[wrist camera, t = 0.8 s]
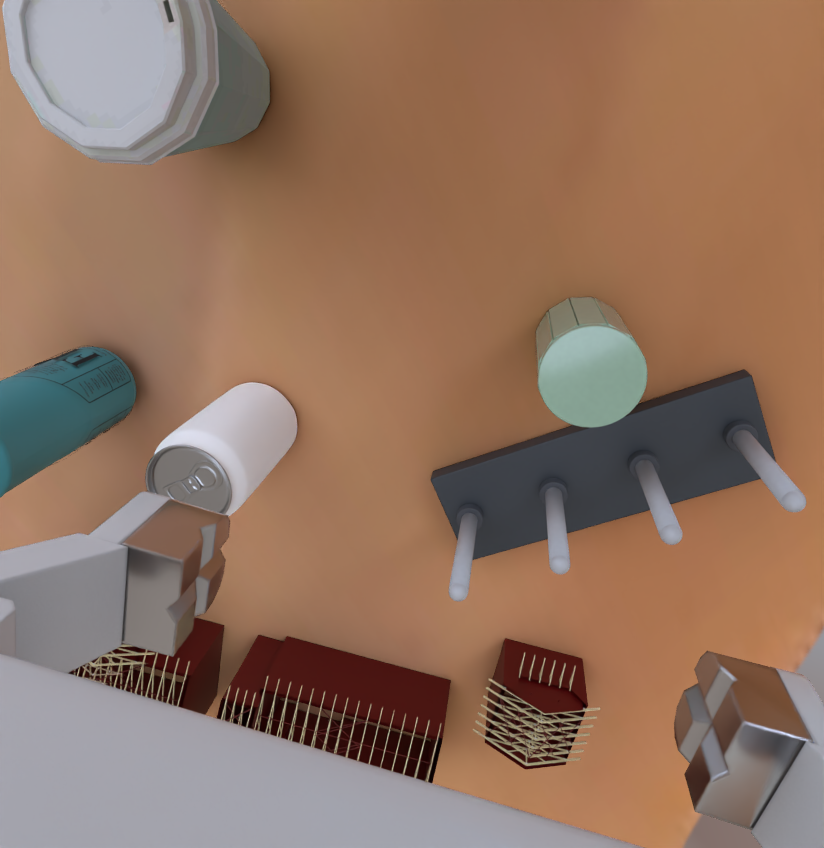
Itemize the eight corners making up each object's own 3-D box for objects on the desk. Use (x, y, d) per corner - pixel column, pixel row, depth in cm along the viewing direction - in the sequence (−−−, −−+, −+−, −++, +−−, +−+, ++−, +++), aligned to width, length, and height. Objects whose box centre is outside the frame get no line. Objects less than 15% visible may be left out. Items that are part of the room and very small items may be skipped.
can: (315, 435, 52) (258, 507, 41) (252, 471, 54) (181, 549, 43) (267, 365, 50) (194, 420, 39) (204, 405, 52) (118, 467, 41)
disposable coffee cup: (178, 184, 46) (32, 189, 33) (125, 11, 43) (-64, -65, 29) (320, 148, 44) (227, 138, 30) (276, -37, 41) (148, -145, 27)
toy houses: (86, 681, 65) (13, 766, 56) (88, 499, 57) (3, 562, 48) (540, 808, 62) (543, 922, 52) (606, 633, 54) (623, 730, 45)
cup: (564, 281, 45) (574, 306, 36) (642, 323, 45) (669, 358, 37) (519, 357, 47) (518, 397, 39) (593, 397, 47) (608, 445, 39)
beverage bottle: (133, 332, 51) (-88, 424, 33) (161, 413, 53) (-32, 542, 35) (61, 345, 52) (-191, 441, 34) (90, 424, 55) (-131, 554, 36)
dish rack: (744, 369, 45) (816, 433, 34) (771, 464, 47) (848, 555, 36) (432, 471, 51) (407, 553, 40) (468, 551, 53) (453, 651, 42)
